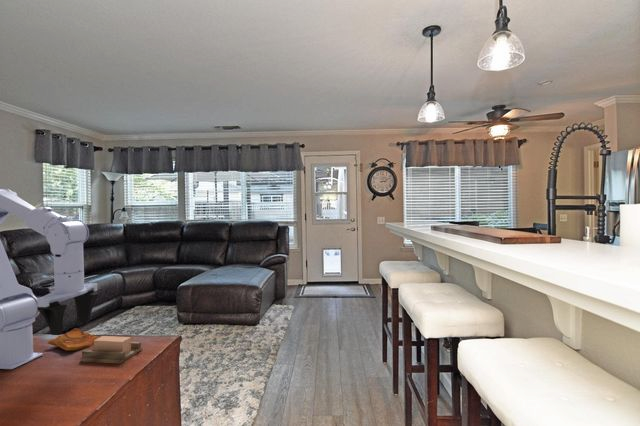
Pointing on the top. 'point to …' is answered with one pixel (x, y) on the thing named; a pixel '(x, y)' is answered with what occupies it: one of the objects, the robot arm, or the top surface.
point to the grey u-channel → (110, 354)
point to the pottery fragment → (74, 340)
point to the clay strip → (113, 344)
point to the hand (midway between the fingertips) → (70, 328)
